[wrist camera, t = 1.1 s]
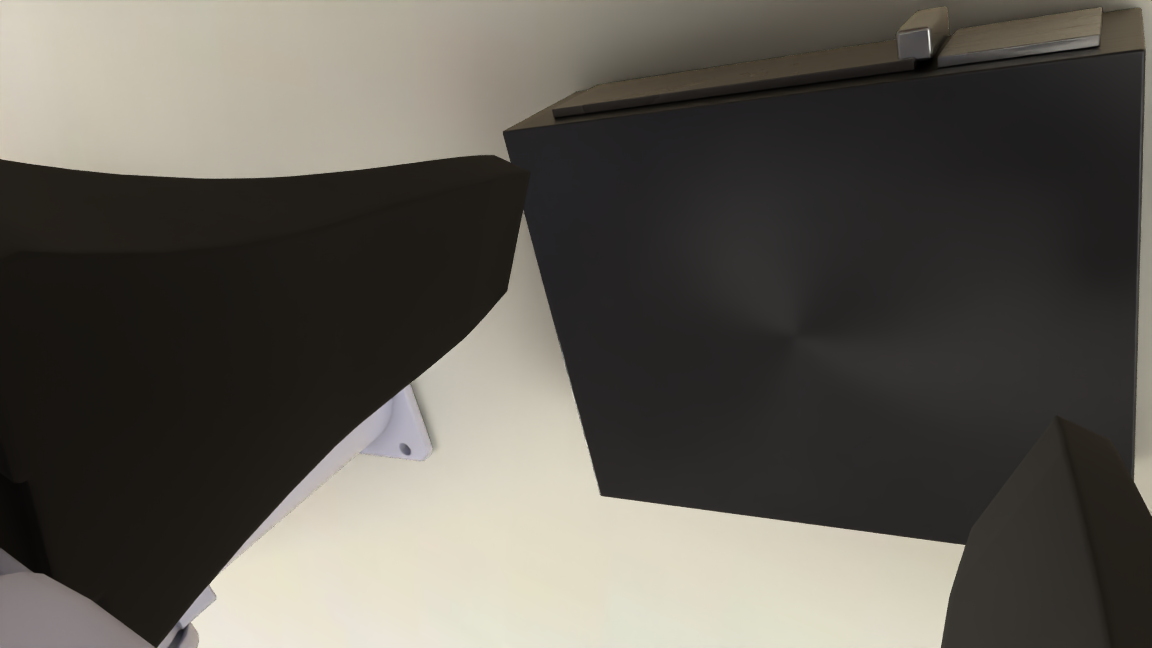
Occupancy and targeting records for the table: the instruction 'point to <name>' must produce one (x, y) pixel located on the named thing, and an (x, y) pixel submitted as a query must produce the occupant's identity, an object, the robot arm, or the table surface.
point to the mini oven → (849, 268)
